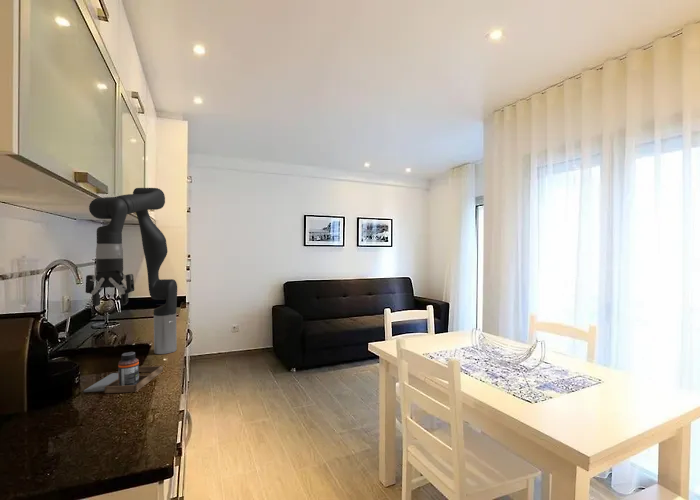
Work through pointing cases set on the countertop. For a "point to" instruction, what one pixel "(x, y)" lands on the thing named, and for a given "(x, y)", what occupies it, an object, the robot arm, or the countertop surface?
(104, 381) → the slate mat
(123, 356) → the supplement bottle
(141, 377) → the two bay tray
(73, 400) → the countertop surface
